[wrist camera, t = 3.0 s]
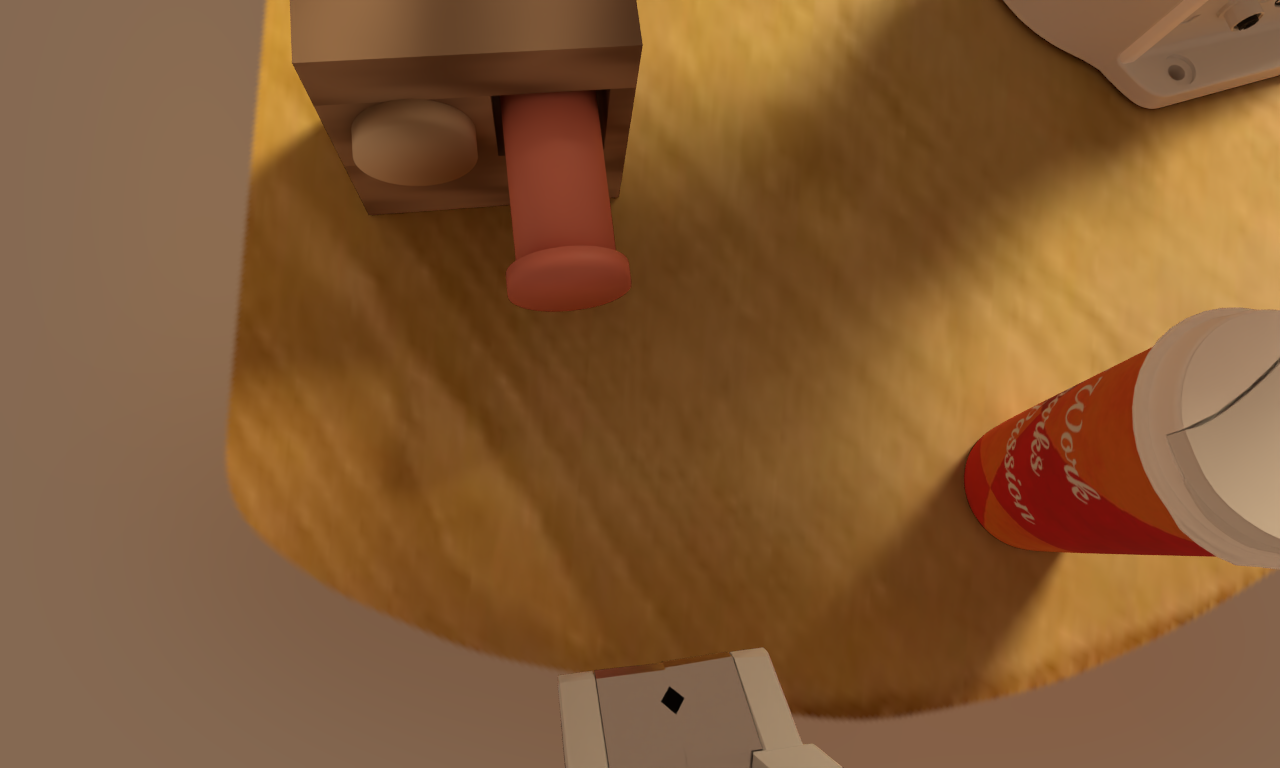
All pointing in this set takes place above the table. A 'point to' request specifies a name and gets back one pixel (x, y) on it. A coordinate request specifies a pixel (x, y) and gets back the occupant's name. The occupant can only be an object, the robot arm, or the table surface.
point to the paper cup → (1148, 452)
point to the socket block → (456, 87)
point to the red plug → (559, 204)
